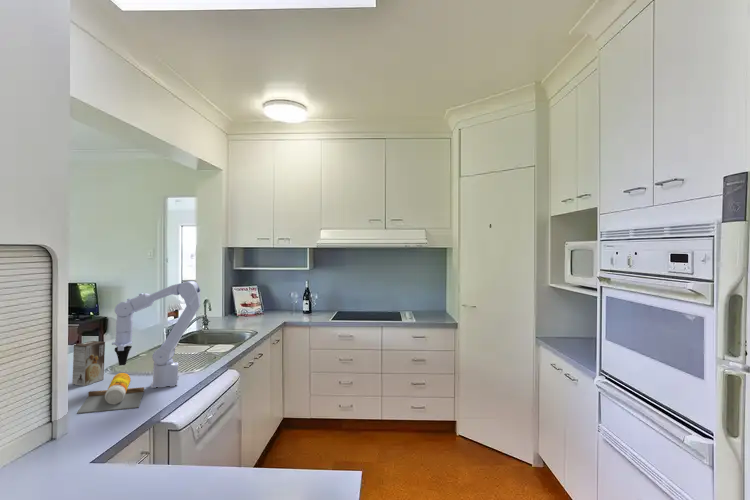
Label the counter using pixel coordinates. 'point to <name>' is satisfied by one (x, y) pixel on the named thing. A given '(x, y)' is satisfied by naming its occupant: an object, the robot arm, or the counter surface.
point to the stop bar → (97, 393)
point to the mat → (102, 405)
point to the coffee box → (88, 363)
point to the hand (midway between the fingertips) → (122, 364)
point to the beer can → (117, 388)
